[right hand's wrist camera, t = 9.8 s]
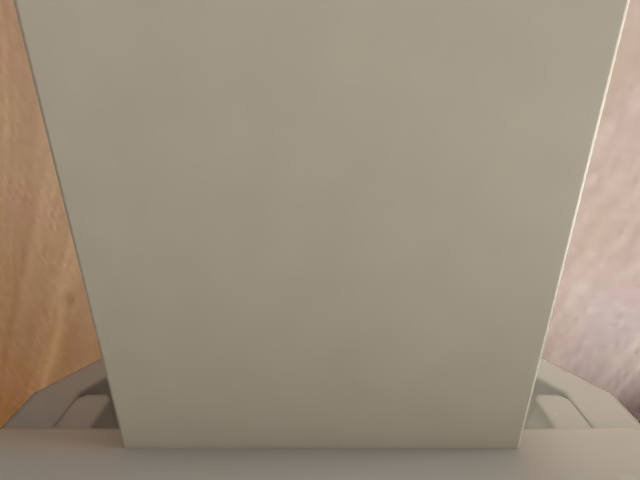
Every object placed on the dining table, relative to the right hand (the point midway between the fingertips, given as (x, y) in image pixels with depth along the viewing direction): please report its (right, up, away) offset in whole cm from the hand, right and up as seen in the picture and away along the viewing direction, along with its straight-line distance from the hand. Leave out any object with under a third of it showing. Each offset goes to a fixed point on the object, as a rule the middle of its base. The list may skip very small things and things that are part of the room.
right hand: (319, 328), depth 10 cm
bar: (0, +10, 0) cm, 10 cm away
